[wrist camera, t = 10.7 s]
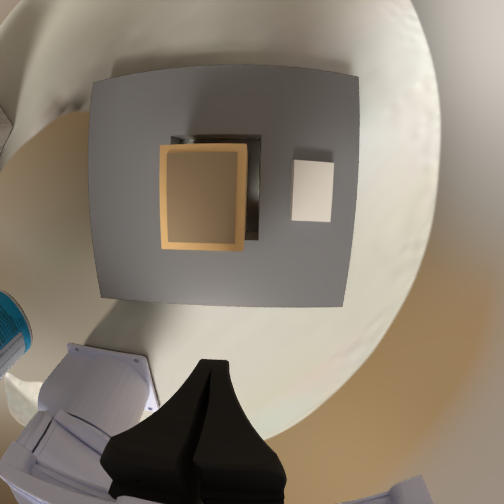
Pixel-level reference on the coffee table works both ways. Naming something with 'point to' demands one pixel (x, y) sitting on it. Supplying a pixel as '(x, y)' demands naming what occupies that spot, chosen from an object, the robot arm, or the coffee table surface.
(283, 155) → the socket plate
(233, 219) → the plug
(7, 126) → the coffee box
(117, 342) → the coffee table surface
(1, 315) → the beverage bottle
